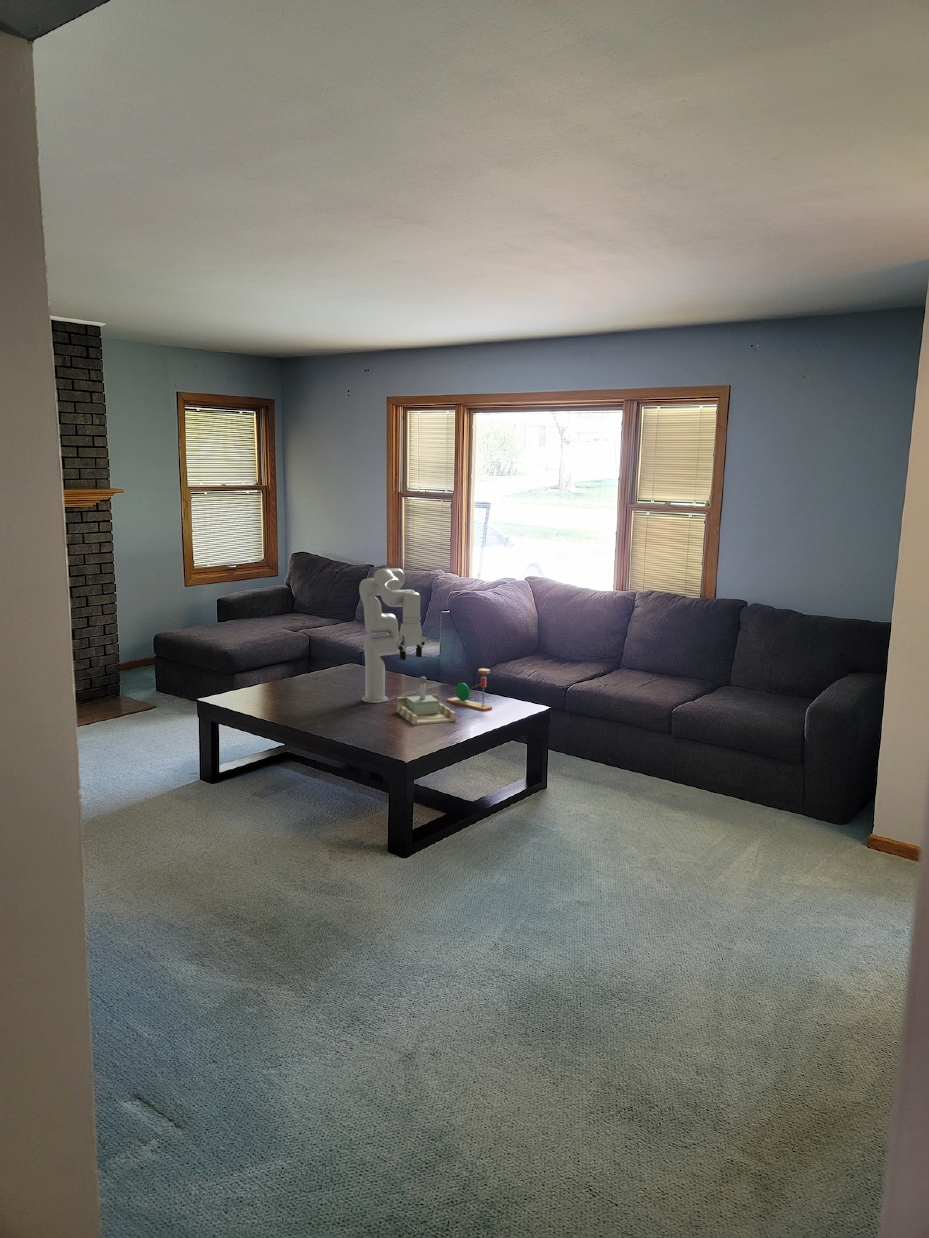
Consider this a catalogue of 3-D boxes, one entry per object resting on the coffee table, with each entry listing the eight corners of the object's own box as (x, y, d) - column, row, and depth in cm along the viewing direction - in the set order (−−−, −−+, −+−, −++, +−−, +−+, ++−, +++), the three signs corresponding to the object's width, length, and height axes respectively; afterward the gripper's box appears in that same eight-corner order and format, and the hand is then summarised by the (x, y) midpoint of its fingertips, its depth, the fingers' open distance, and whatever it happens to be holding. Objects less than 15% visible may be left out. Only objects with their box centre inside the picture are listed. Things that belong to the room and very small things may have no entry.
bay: (397, 712, 410) (397, 697, 409) (437, 708, 418) (437, 694, 417) (413, 725, 389) (414, 709, 388) (455, 721, 397) (455, 706, 396)
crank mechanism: (493, 709, 419) (494, 669, 416) (484, 711, 414) (485, 671, 411) (455, 699, 436) (456, 661, 433) (446, 701, 431) (446, 663, 428)
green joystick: (406, 709, 410) (406, 675, 407) (430, 707, 415) (431, 673, 412) (413, 715, 400) (414, 679, 398) (438, 713, 405) (439, 678, 403)
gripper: (419, 617, 396) (419, 654, 399) (390, 621, 383) (390, 659, 386) (431, 619, 391) (430, 657, 394) (402, 623, 378) (402, 662, 381)
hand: (410, 658), depth 390 cm, fingers open, 9 cm apart
